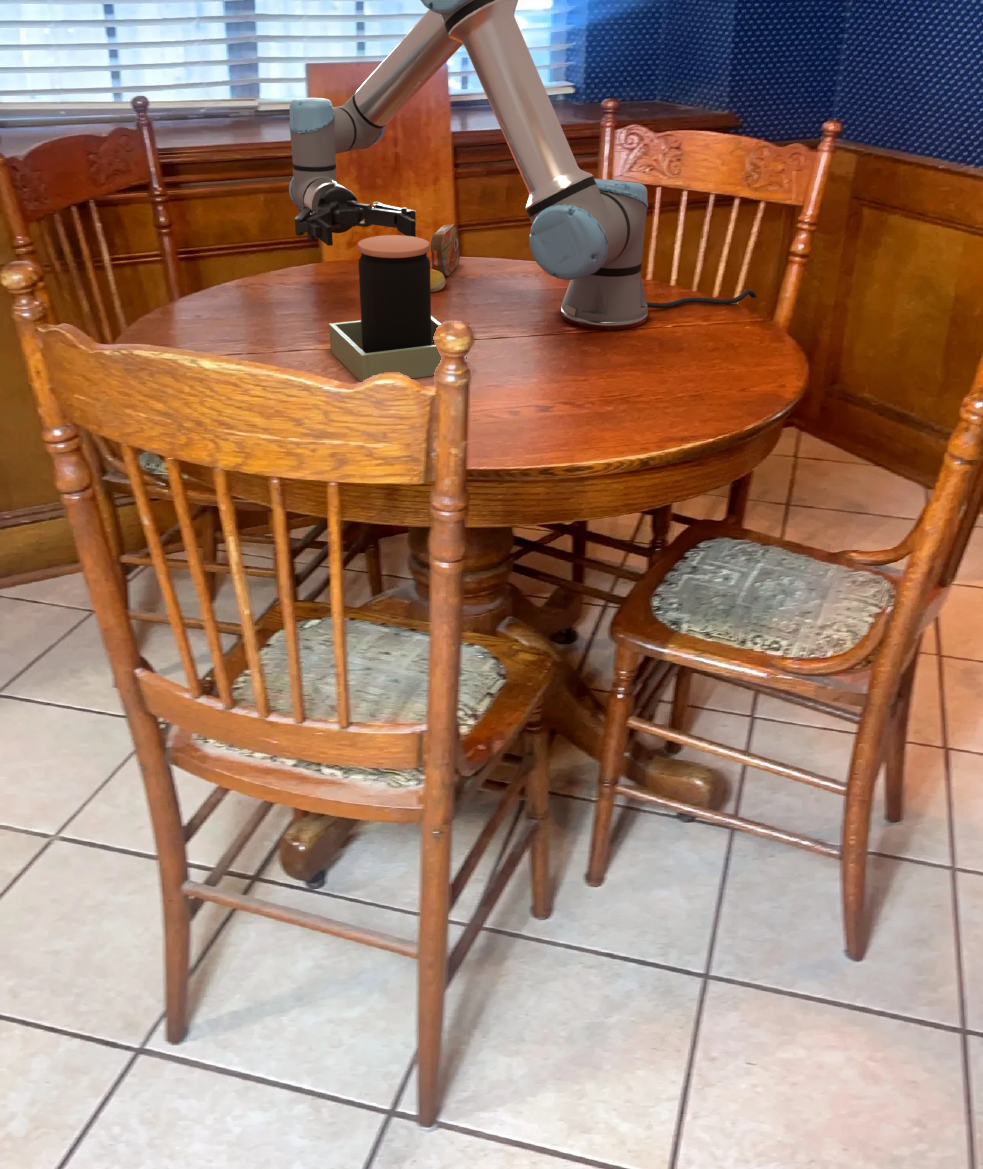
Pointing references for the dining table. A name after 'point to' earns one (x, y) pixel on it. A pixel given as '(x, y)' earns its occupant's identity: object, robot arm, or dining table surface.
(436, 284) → the bread roll
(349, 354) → the tray
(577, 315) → the robot arm
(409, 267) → the coffee jar
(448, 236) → the tin
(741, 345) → the dining table surface
